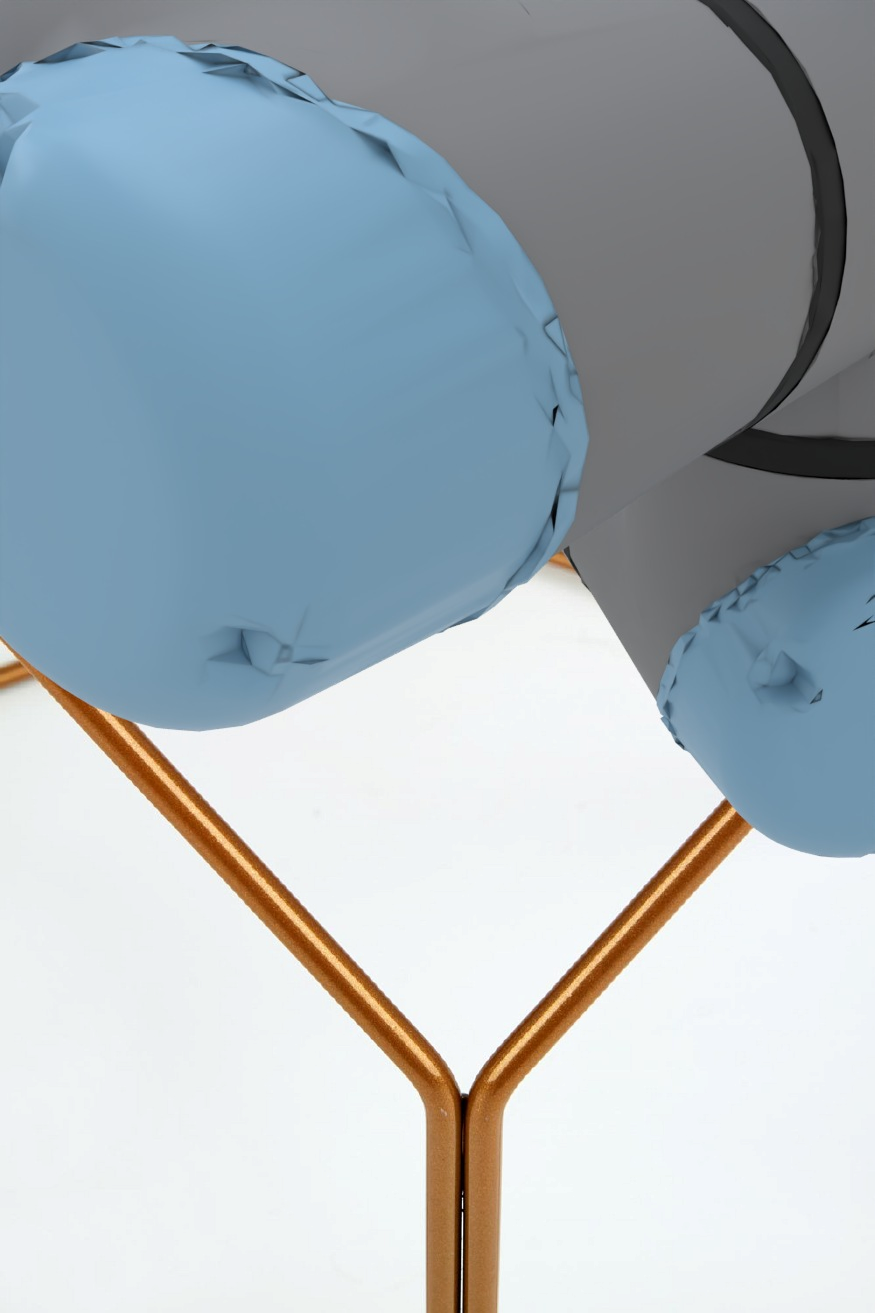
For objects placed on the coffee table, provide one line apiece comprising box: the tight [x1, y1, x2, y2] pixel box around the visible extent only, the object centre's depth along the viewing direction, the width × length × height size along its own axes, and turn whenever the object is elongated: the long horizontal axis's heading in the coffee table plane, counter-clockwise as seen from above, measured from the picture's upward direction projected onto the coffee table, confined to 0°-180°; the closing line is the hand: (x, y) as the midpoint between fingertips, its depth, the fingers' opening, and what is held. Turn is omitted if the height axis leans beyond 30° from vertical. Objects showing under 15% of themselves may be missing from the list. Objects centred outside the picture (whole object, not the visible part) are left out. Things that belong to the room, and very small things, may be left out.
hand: (433, 176), depth 60 cm, fingers closed
